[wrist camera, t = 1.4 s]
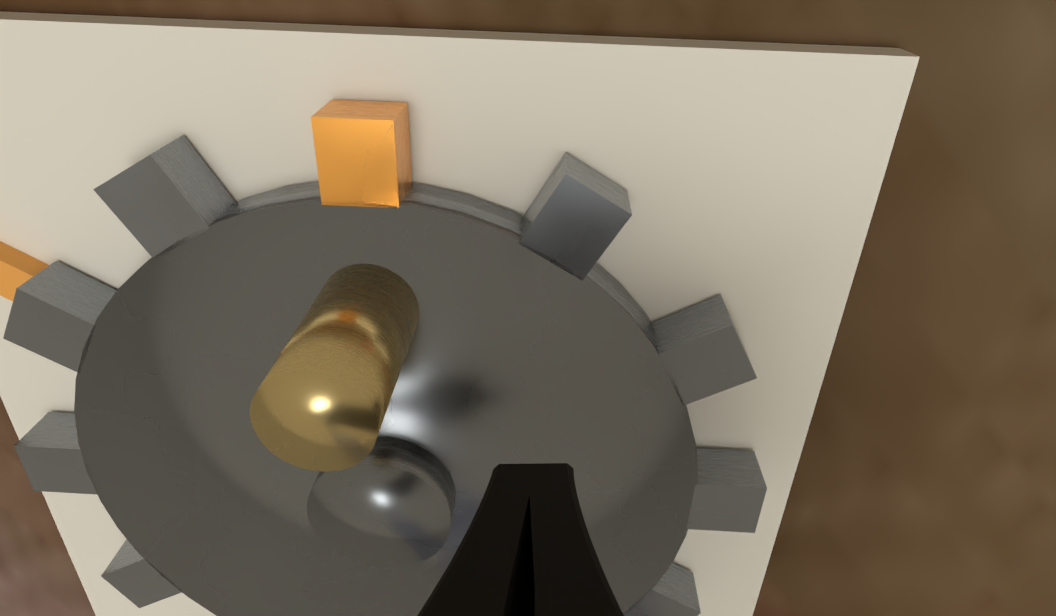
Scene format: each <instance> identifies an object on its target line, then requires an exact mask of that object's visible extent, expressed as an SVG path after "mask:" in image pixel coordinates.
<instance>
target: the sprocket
mask: <svg viewBox="0 0 1056 616" xmlns="http://www.w3.org/2000/svg"><path fill="white" fill-rule="evenodd" d="M311 123H312V131H313V139H314V147H315V155H316V163H317V171H318V179H319V181H317V182H310V183H303V184H297V185H290V186H284V187H281V188H277V189H274V190H271V191H267V192H264V193H261V194H257V195H254V196H250V197H247V198H244V199H242V200H240V201H237V202H235V201H234V200H233V198H232V197H231V196H230V194H229V193H228V192H227V190H226V189H225V188H224V187H223V185H222V184H221V183H220V181H219V180H218V179H217V178H216V176H215V175H214V174H213V172H212V171H211V170H210V169H209V167H208V166H207V165H206V163H205V162H204V161H203V159H202V158H201V157H200V156H199V154H198V153H197V152H196V150H195V149H194V148H193V147H192V145H191V144H190V143H189V141H188V140H187V139H186V138H185V136H184V135H182V136H180V137H179V138H177V139H175V140H174V141H172V142H170V143H169V144H167V145H165V146H164V147H162V148H160V149H159V150H157V151H155V152H154V153H152V154H150V155H149V156H147V157H145V158H144V159H142V160H140V161H139V162H137V163H136V164H134V165H132V166H131V167H129V168H127V169H126V170H124V171H123V172H121V173H119V174H118V175H116V176H114V177H113V178H111V179H109V180H108V181H106V182H105V183H103V184H101V185H100V186H98V187H96V188H95V189H93V190H94V191H95V192H96V193H97V194H98V196H99V197H100V198H101V199H102V200H103V201H104V203H105V204H106V205H107V206H108V207H109V208H110V209H111V211H112V212H113V213H114V214H115V215H116V216H117V217H118V219H119V220H120V221H121V222H122V223H123V224H124V226H125V227H126V228H127V229H128V230H129V231H130V232H131V234H132V235H133V236H134V237H135V238H136V239H137V240H138V242H139V243H140V244H141V245H142V246H143V247H144V249H145V250H146V251H147V252H148V253H149V254H150V255H151V258H150V259H149V260H148V261H147V262H146V263H144V264H143V265H142V266H141V267H140V268H139V269H138V270H137V271H136V272H135V273H134V274H133V275H132V276H131V277H130V278H129V279H128V280H127V281H126V282H125V283H124V284H123V285H121V286H120V287H119V288H118V289H117V290H115V289H113V288H110V287H108V286H106V285H104V284H102V283H100V282H98V281H96V280H94V279H92V278H90V277H88V276H86V275H84V274H82V273H80V272H78V271H76V270H74V269H72V268H70V267H68V266H66V265H64V264H61V263H59V262H57V261H55V262H54V263H52V264H51V265H49V266H48V267H46V268H45V269H44V270H42V271H41V272H39V273H38V274H36V275H35V276H33V277H32V278H31V279H29V280H28V281H26V282H25V283H23V284H22V285H21V286H19V287H18V288H16V292H15V296H14V300H13V303H12V307H11V311H10V314H9V318H8V322H7V326H6V329H5V333H4V337H3V339H5V340H8V341H10V342H12V343H14V344H16V345H19V346H21V347H23V348H25V349H27V350H29V351H32V352H34V353H36V354H38V355H40V356H43V357H45V358H47V359H49V360H51V361H54V362H56V363H58V364H60V365H62V366H65V367H67V368H69V369H71V370H73V371H75V372H77V376H76V383H75V404H74V413H62V412H48V413H47V414H46V415H45V416H44V417H43V418H42V419H41V420H40V421H39V422H38V423H37V424H36V425H35V426H34V427H33V428H32V429H31V430H29V431H28V432H27V433H26V434H25V435H24V436H23V437H22V438H21V439H20V440H19V441H18V442H17V443H16V444H15V445H14V447H15V449H16V451H17V454H18V456H19V458H20V460H21V463H22V465H23V467H24V470H25V472H26V474H27V476H28V479H29V481H30V483H31V485H32V488H33V490H34V491H44V492H61V493H78V494H95V495H98V497H99V499H100V501H101V503H102V504H103V506H104V507H105V509H106V510H107V512H108V514H109V515H110V517H111V518H112V520H113V521H114V523H115V524H116V526H117V528H118V529H119V530H120V531H121V533H122V534H123V535H124V536H125V537H126V541H125V542H124V543H123V545H122V546H121V548H120V549H119V551H118V552H117V554H116V555H115V556H114V558H113V559H112V561H111V562H110V564H109V565H108V567H107V568H106V569H105V571H104V572H103V574H102V575H101V577H102V578H104V579H105V580H106V581H107V582H108V583H110V584H111V585H112V586H113V587H114V588H116V589H117V590H118V591H119V592H120V593H122V594H123V595H124V596H125V597H126V598H128V599H129V600H130V601H131V602H132V603H133V604H135V605H136V606H137V607H138V608H141V607H144V606H147V605H149V604H152V603H155V602H158V601H160V600H163V599H166V598H168V597H171V596H174V595H176V594H179V593H184V594H185V595H186V596H187V597H189V598H190V599H192V600H193V601H195V602H196V603H198V604H199V605H201V606H202V607H204V608H205V609H207V610H208V611H210V612H211V613H213V614H214V615H216V616H417V615H418V614H419V612H420V611H421V609H422V608H423V606H424V605H425V603H426V601H427V600H428V598H429V597H430V595H431V593H432V592H433V590H434V588H435V587H436V585H437V583H438V582H439V580H440V578H441V577H442V575H443V574H444V572H445V570H446V569H447V567H448V565H449V564H450V562H451V560H452V558H453V556H454V555H455V553H456V551H457V549H458V547H459V545H460V543H461V541H462V539H463V537H464V536H465V534H466V532H467V530H468V528H469V526H470V524H471V522H472V520H473V518H474V516H475V514H476V511H477V509H478V507H479V505H480V503H481V500H482V498H483V496H484V493H485V491H486V488H487V486H488V483H489V481H490V478H491V475H492V472H493V469H494V468H495V467H496V466H497V465H499V464H537V463H568V464H569V465H570V466H571V467H573V468H574V480H575V486H576V491H577V496H578V500H579V504H580V507H581V511H582V514H583V517H584V521H585V524H586V527H587V530H588V533H589V536H590V538H591V541H592V544H593V546H594V549H595V551H596V554H597V556H598V559H599V562H600V564H601V567H602V569H603V571H604V574H605V576H606V578H607V581H608V583H609V585H610V587H611V589H612V592H613V594H614V596H615V598H616V600H617V602H618V604H619V607H620V609H621V611H622V613H623V615H624V616H698V615H699V614H700V613H701V611H700V606H699V601H698V596H697V590H696V585H695V580H694V575H693V572H691V571H688V570H686V569H684V568H682V567H680V566H678V565H676V564H674V563H672V562H673V561H674V559H675V557H676V555H677V553H678V551H679V549H680V547H681V545H682V543H683V541H684V539H685V537H686V535H687V531H688V529H694V530H712V531H729V532H746V533H755V531H756V527H757V523H758V520H759V516H760V513H761V509H762V505H763V502H764V498H765V494H766V491H767V487H766V484H765V481H764V478H763V475H762V472H761V469H760V466H759V463H758V460H757V458H756V455H755V452H754V451H747V450H729V449H711V448H696V442H695V438H694V434H693V430H692V426H691V422H690V417H689V413H688V409H687V404H689V403H692V402H695V401H698V400H700V399H703V398H706V397H708V396H711V395H714V394H716V393H719V392H722V391H724V390H727V389H730V388H732V387H735V386H738V385H741V384H743V383H746V382H749V381H751V380H754V379H757V376H756V374H755V371H754V369H753V366H752V364H751V361H750V359H749V356H748V354H747V351H746V349H745V347H744V344H743V342H742V340H741V338H740V335H739V333H738V331H737V329H736V327H735V324H734V322H733V320H732V318H731V316H730V313H729V311H728V309H727V307H726V305H725V302H724V300H723V298H722V296H721V294H719V295H717V296H714V297H712V298H709V299H707V300H705V301H702V302H700V303H697V304H695V305H693V306H690V307H688V308H685V309H683V310H680V311H678V312H676V313H673V314H671V315H668V316H666V317H663V318H661V319H659V320H656V321H654V322H651V320H650V319H649V317H648V315H647V314H646V313H645V312H644V311H643V309H642V308H641V307H640V306H639V305H638V303H637V302H636V301H635V300H634V299H633V297H632V296H631V295H630V294H629V293H628V292H627V290H626V289H625V288H624V287H623V286H622V285H621V284H620V283H619V282H618V281H617V280H616V279H615V278H614V277H613V276H611V275H610V274H609V273H608V272H607V271H606V270H605V269H604V268H603V267H601V266H600V265H599V264H598V263H597V261H598V259H599V258H600V257H601V255H602V254H603V253H604V251H605V250H606V249H607V248H608V246H609V245H610V244H611V242H612V241H613V240H614V238H615V237H616V236H617V234H618V233H619V232H620V230H621V229H622V228H623V226H624V225H625V224H626V222H627V221H628V220H629V218H630V217H631V216H632V211H631V207H630V202H629V197H628V193H627V190H626V189H624V188H623V187H621V186H619V185H618V184H616V183H615V182H613V181H611V180H610V179H608V178H607V177H605V176H604V175H602V174H600V173H599V172H597V171H596V170H594V169H592V168H591V167H589V166H588V165H586V164H584V163H583V162H581V161H580V160H578V159H577V158H575V157H573V156H572V155H570V154H569V153H567V152H566V153H565V154H564V156H563V157H562V159H561V160H560V162H559V163H558V165H557V166H556V168H555V169H554V171H553V172H552V174H551V175H550V177H549V178H548V180H547V181H546V183H545V184H544V186H543V187H542V189H541V190H540V192H539V193H538V195H537V196H536V197H535V199H534V200H533V202H532V203H531V205H530V206H529V208H528V209H527V211H526V212H525V214H524V215H523V216H522V215H521V214H519V213H517V212H515V211H512V210H510V209H507V208H504V207H502V206H499V205H496V204H493V203H491V202H488V201H485V200H482V199H480V198H477V197H474V196H472V195H469V194H464V193H460V192H456V191H451V190H447V189H443V188H439V187H434V186H430V185H426V184H420V183H412V169H411V151H410V133H409V115H408V103H406V102H383V101H360V100H337V99H332V100H330V101H329V102H328V103H327V104H326V105H324V106H323V107H322V108H321V109H320V110H318V111H317V112H316V113H315V114H314V115H312V116H311Z"/></svg>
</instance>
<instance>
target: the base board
mask: <svg viewBox="0 0 1056 616" xmlns="http://www.w3.org/2000/svg"><path fill="white" fill-rule="evenodd" d="M918 61H919V56H917V55H914V54H912V53H910V52H907V51H905V50H903V49H900V48H891V47H866V46H841V45H817V44H792V43H767V42H743V41H718V40H693V39H669V38H644V37H619V36H595V35H570V34H545V33H521V32H496V31H471V30H447V29H422V28H397V27H373V26H348V25H323V24H299V23H274V22H249V21H225V20H200V19H175V18H151V17H126V16H101V15H77V14H52V13H27V12H3V11H0V396H1V399H2V401H3V403H4V406H5V408H6V410H7V412H8V415H9V417H10V419H11V422H12V424H13V426H14V429H15V431H16V433H17V435H18V438H19V440H20V439H21V438H22V437H23V436H24V435H25V434H26V433H27V432H28V431H29V430H31V429H32V428H33V427H34V426H35V425H36V424H37V423H38V422H39V421H40V420H41V419H42V418H43V417H44V416H45V415H46V414H47V413H48V412H62V413H74V404H75V383H76V376H77V372H75V371H73V370H71V369H69V368H67V367H65V366H62V365H60V364H58V363H56V362H54V361H51V360H49V359H47V358H45V357H43V356H40V355H38V354H36V353H34V352H32V351H29V350H27V349H25V348H23V347H21V346H19V345H16V344H14V343H12V342H10V341H8V340H5V339H3V337H4V333H5V329H6V326H7V322H8V318H9V314H10V311H11V307H12V303H13V300H14V296H15V292H16V288H18V287H19V286H21V285H22V284H23V283H25V282H26V281H28V280H29V279H31V278H32V277H33V276H35V275H36V274H38V273H39V272H41V271H42V270H44V269H45V268H46V267H48V266H49V265H51V264H52V263H54V262H55V261H57V262H59V263H61V264H64V265H66V266H68V267H70V268H72V269H74V270H76V271H78V272H80V273H82V274H84V275H86V276H88V277H90V278H92V279H94V280H96V281H98V282H100V283H102V284H104V285H106V286H108V287H110V288H113V289H115V290H117V289H118V288H119V287H120V286H121V285H123V284H124V283H125V282H126V281H127V280H128V279H129V278H130V277H131V276H132V275H133V274H134V273H135V272H136V271H137V270H138V269H139V268H140V267H141V266H142V265H143V264H144V263H146V262H147V261H148V260H149V259H150V258H151V255H150V254H149V253H148V252H147V251H146V250H145V249H144V247H143V246H142V245H141V244H140V243H139V242H138V240H137V239H136V238H135V237H134V236H133V235H132V234H131V232H130V231H129V230H128V229H127V228H126V227H125V226H124V224H123V223H122V222H121V221H120V220H119V219H118V217H117V216H116V215H115V214H114V213H113V212H112V211H111V209H110V208H109V207H108V206H107V205H106V204H105V203H104V201H103V200H102V199H101V198H100V197H99V196H98V194H97V193H96V192H95V191H94V190H93V189H95V188H96V187H98V186H100V185H101V184H103V183H105V182H106V181H108V180H109V179H111V178H113V177H114V176H116V175H118V174H119V173H121V172H123V171H124V170H126V169H127V168H129V167H131V166H132V165H134V164H136V163H137V162H139V161H140V160H142V159H144V158H145V157H147V156H149V155H150V154H152V153H154V152H155V151H157V150H159V149H160V148H162V147H164V146H165V145H167V144H169V143H170V142H172V141H174V140H175V139H177V138H179V137H180V136H182V135H184V136H185V138H186V139H187V140H188V141H189V143H190V144H191V145H192V147H193V148H194V149H195V150H196V152H197V153H198V154H199V156H200V157H201V158H202V159H203V161H204V162H205V163H206V165H207V166H208V167H209V169H210V170H211V171H212V172H213V174H214V175H215V176H216V178H217V179H218V180H219V181H220V183H221V184H222V185H223V187H224V188H225V189H226V190H227V192H228V193H229V194H230V196H231V197H232V198H233V200H234V201H235V202H237V201H240V200H242V199H244V198H247V197H250V196H254V195H257V194H261V193H264V192H267V191H271V190H274V189H277V188H281V187H284V186H290V185H297V184H303V183H310V182H317V181H319V179H318V171H317V163H316V155H315V147H314V139H313V131H312V123H311V116H312V115H314V114H315V113H316V112H317V111H318V110H320V109H321V108H322V107H323V106H324V105H326V104H327V103H328V102H329V101H330V100H332V99H337V100H360V101H383V102H406V103H408V115H409V133H410V151H411V169H412V183H420V184H426V185H430V186H434V187H439V188H443V189H447V190H451V191H456V192H460V193H464V194H469V195H472V196H474V197H477V198H480V199H482V200H485V201H488V202H491V203H493V204H496V205H499V206H502V207H504V208H507V209H510V210H512V211H515V212H517V213H519V214H521V215H522V216H523V215H524V214H525V212H526V211H527V209H528V208H529V206H530V205H531V203H532V202H533V200H534V199H535V197H536V196H537V195H538V193H539V192H540V190H541V189H542V187H543V186H544V184H545V183H546V181H547V180H548V178H549V177H550V175H551V174H552V172H553V171H554V169H555V168H556V166H557V165H558V163H559V162H560V160H561V159H562V157H563V156H564V154H565V153H566V152H567V153H569V154H570V155H572V156H573V157H575V158H577V159H578V160H580V161H581V162H583V163H584V164H586V165H588V166H589V167H591V168H592V169H594V170H596V171H597V172H599V173H600V174H602V175H604V176H605V177H607V178H608V179H610V180H611V181H613V182H615V183H616V184H618V185H619V186H621V187H623V188H624V189H626V190H627V193H628V197H629V202H630V207H631V211H632V216H631V217H630V218H629V220H628V221H627V222H626V224H625V225H624V226H623V228H622V229H621V230H620V232H619V233H618V234H617V236H616V237H615V238H614V240H613V241H612V242H611V244H610V245H609V246H608V248H607V249H606V250H605V251H604V253H603V254H602V255H601V257H600V258H599V259H598V261H597V263H598V264H599V265H600V266H601V267H603V268H604V269H605V270H606V271H607V272H608V273H609V274H610V275H611V276H613V277H614V278H615V279H616V280H617V281H618V282H619V283H620V284H621V285H622V286H623V287H624V288H625V289H626V290H627V292H628V293H629V294H630V295H631V296H632V297H633V299H634V300H635V301H636V302H637V303H638V305H639V306H640V307H641V308H642V309H643V311H644V312H645V313H646V314H647V315H648V317H649V319H650V320H651V322H654V321H656V320H659V319H661V318H663V317H666V316H668V315H671V314H673V313H676V312H678V311H680V310H683V309H685V308H688V307H690V306H693V305H695V304H697V303H700V302H702V301H705V300H707V299H709V298H712V297H714V296H717V295H719V294H721V296H722V298H723V300H724V302H725V305H726V307H727V309H728V311H729V313H730V316H731V318H732V320H733V322H734V324H735V327H736V329H737V331H738V333H739V335H740V338H741V340H742V342H743V344H744V347H745V349H746V351H747V354H748V356H749V359H750V361H751V364H752V366H753V369H754V371H755V374H756V376H757V379H754V380H751V381H749V382H746V383H743V384H741V385H738V386H735V387H732V388H730V389H727V390H724V391H722V392H719V393H716V394H714V395H711V396H708V397H706V398H703V399H700V400H698V401H695V402H692V403H689V404H687V409H688V413H689V417H690V422H691V426H692V430H693V434H694V438H695V442H696V448H711V449H729V450H747V451H754V452H755V455H756V458H757V460H758V463H759V466H760V469H761V472H762V475H763V478H764V481H765V484H766V487H767V491H766V494H765V498H764V502H763V505H762V509H761V513H760V516H759V520H758V523H757V527H756V531H755V533H746V532H729V531H712V530H694V529H688V531H687V535H686V537H685V539H684V541H683V543H682V545H681V547H680V549H679V551H678V553H677V555H676V557H675V559H674V561H673V562H672V563H674V564H676V565H678V566H680V567H682V568H684V569H686V570H688V571H691V572H693V575H694V580H695V585H696V590H697V596H698V601H699V606H700V611H701V613H700V614H699V615H698V616H753V612H754V609H755V606H756V602H757V599H758V596H759V592H760V589H761V586H762V582H763V579H764V576H765V572H766V569H767V566H768V562H769V559H770V555H771V552H772V549H773V545H774V542H775V539H776V535H777V532H778V529H779V525H780V522H781V519H782V515H783V512H784V509H785V505H786V502H787V499H788V495H789V492H790V489H791V485H792V482H793V479H794V475H795V472H796V469H797V465H798V462H799V459H800V455H801V452H802V449H803V445H804V442H805V438H806V435H807V432H808V428H809V425H810V422H811V418H812V415H813V412H814V408H815V405H816V402H817V398H818V395H819V392H820V388H821V385H822V382H823V378H824V375H825V372H826V368H827V365H828V362H829V358H830V355H831V352H832V348H833V345H834V342H835V338H836V335H837V332H838V328H839V325H840V321H841V318H842V315H843V311H844V308H845V305H846V301H847V298H848V295H849V291H850V288H851V285H852V281H853V278H854V275H855V271H856V268H857V265H858V261H859V258H860V255H861V251H862V248H863V245H864V241H865V238H866V235H867V231H868V228H869V225H870V221H871V218H872V215H873V211H874V208H875V205H876V201H877V198H878V194H879V191H880V188H881V184H882V181H883V178H884V174H885V171H886V168H887V164H888V161H889V158H890V154H891V151H892V148H893V144H894V141H895V138H896V134H897V131H898V128H899V124H900V121H901V118H902V114H903V111H904V108H905V104H906V101H907V98H908V94H909V91H910V88H911V84H912V81H913V77H914V74H915V71H916V67H917V64H918ZM42 493H43V495H44V497H45V500H46V502H47V504H48V507H49V509H50V511H51V514H52V516H53V518H54V520H55V523H56V525H57V527H58V530H59V532H60V534H61V537H62V539H63V541H64V543H65V546H66V548H67V550H68V553H69V555H70V557H71V560H72V562H73V564H74V566H75V569H76V571H77V573H78V576H79V578H80V580H81V583H82V585H83V587H84V589H85V592H86V594H87V596H88V599H89V601H90V603H91V606H92V608H93V610H94V612H95V615H96V616H216V615H214V614H213V613H211V612H210V611H208V610H207V609H205V608H204V607H202V606H201V605H199V604H198V603H196V602H195V601H193V600H192V599H190V598H189V597H187V596H186V595H185V594H184V593H179V594H176V595H174V596H171V597H168V598H166V599H163V600H160V601H158V602H155V603H152V604H149V605H147V606H144V607H141V608H138V607H137V606H136V605H135V604H133V603H132V602H131V601H130V600H129V599H128V598H126V597H125V596H124V595H123V594H122V593H120V592H119V591H118V590H117V589H116V588H114V587H113V586H112V585H111V584H110V583H108V582H107V581H106V580H105V579H104V578H102V577H101V575H102V574H103V572H104V571H105V569H106V568H107V567H108V565H109V564H110V562H111V561H112V559H113V558H114V556H115V555H116V554H117V552H118V551H119V549H120V548H121V546H122V545H123V543H124V542H125V541H126V537H125V536H124V535H123V534H122V533H121V531H120V530H119V529H118V528H117V526H116V524H115V523H114V521H113V520H112V518H111V517H110V515H109V514H108V512H107V510H106V509H105V507H104V506H103V504H102V503H101V501H100V499H99V497H98V495H95V494H78V493H61V492H44V491H42Z"/></svg>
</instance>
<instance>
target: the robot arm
mask: <svg viewBox="0 0 1056 616" xmlns="http://www.w3.org/2000/svg"><path fill="white" fill-rule="evenodd" d="M417 616H624V615H623V613H622V611H621V609H620V607H619V604H618V602H617V600H616V598H615V596H614V594H613V592H612V589H611V587H610V585H609V583H608V581H607V578H606V576H605V574H604V571H603V569H602V567H601V564H600V562H599V559H598V556H597V554H596V551H595V549H594V546H593V544H592V541H591V538H590V536H589V533H588V530H587V527H586V524H585V521H584V517H583V514H582V511H581V507H580V504H579V500H578V496H577V491H576V486H575V480H574V468H573V467H571V466H570V465H569V464H568V463H537V464H499V465H497V466H496V467H495V468H494V469H493V472H492V475H491V478H490V481H489V483H488V486H487V488H486V491H485V493H484V496H483V498H482V500H481V503H480V505H479V507H478V509H477V511H476V514H475V516H474V518H473V520H472V522H471V524H470V526H469V528H468V530H467V532H466V534H465V536H464V537H463V539H462V541H461V543H460V545H459V547H458V549H457V551H456V553H455V555H454V556H453V558H452V560H451V562H450V564H449V565H448V567H447V569H446V570H445V572H444V574H443V575H442V577H441V578H440V580H439V582H438V583H437V585H436V587H435V588H434V590H433V592H432V593H431V595H430V597H429V598H428V600H427V601H426V603H425V605H424V606H423V608H422V609H421V611H420V612H419V614H418V615H417Z"/></svg>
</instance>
